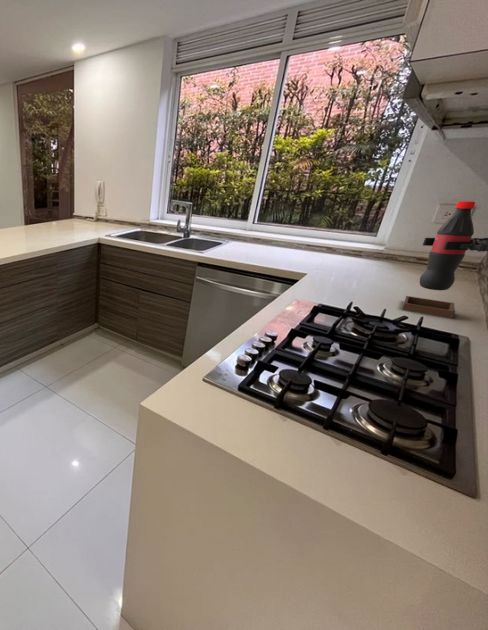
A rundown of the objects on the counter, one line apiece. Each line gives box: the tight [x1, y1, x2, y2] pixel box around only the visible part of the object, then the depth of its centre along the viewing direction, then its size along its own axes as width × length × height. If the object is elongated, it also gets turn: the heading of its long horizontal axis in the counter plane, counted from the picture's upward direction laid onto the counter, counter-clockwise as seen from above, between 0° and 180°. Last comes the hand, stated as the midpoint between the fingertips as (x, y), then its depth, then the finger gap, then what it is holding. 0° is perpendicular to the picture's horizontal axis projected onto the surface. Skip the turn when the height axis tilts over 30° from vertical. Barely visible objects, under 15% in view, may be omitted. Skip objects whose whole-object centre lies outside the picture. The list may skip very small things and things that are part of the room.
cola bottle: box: [419, 200, 476, 291], centre depth 117 cm, size 8×8×30 cm
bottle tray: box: [401, 295, 456, 319], centre depth 123 cm, size 13×13×4 cm
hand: (434, 243), depth 117 cm, fingers closed on cola bottle, 8 cm apart
